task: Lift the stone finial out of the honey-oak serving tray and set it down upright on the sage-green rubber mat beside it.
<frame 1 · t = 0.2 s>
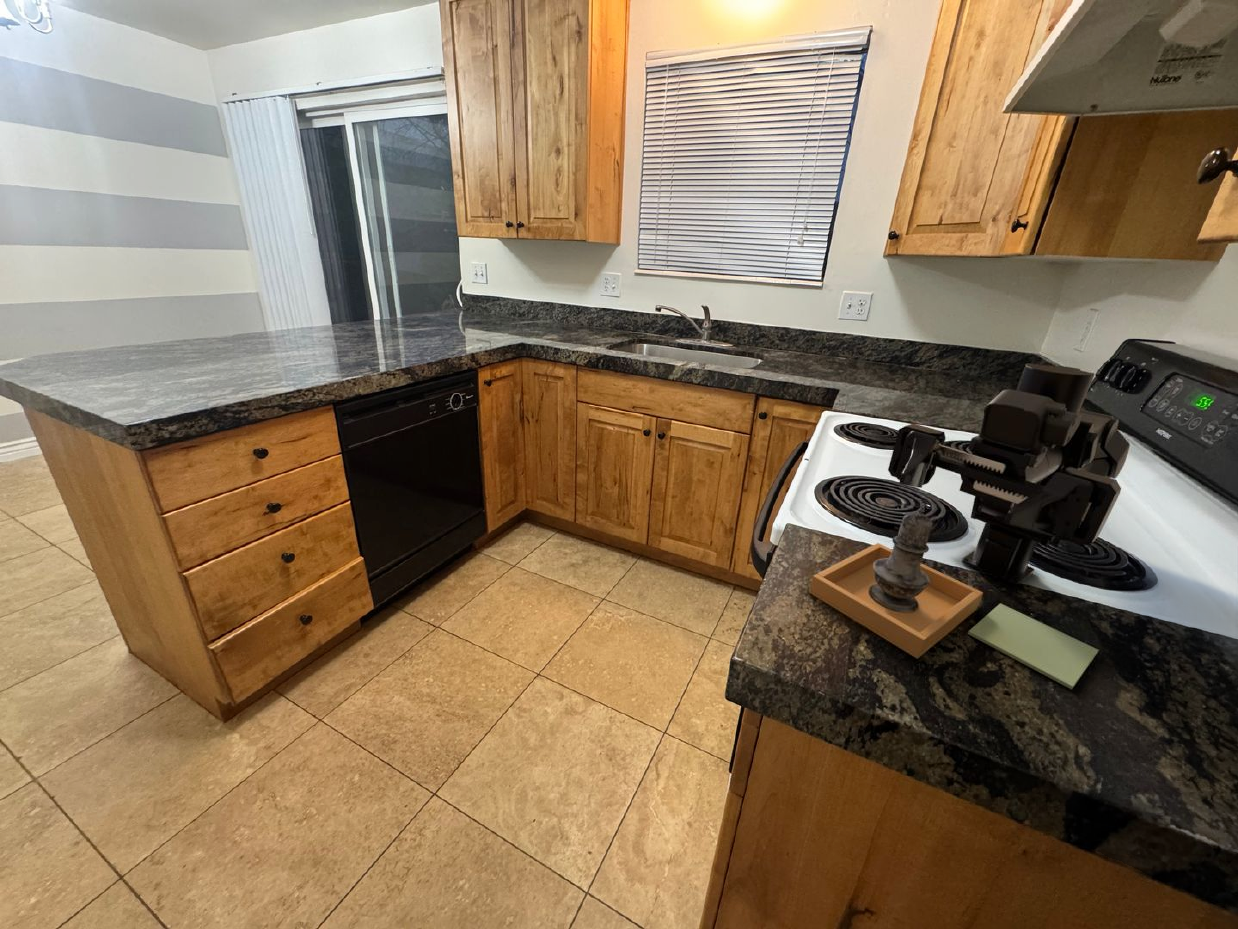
hand: (951, 497, 46), 17 cm above the worktop, tool horizontal, fingers open, 9 cm apart
tray: (891, 601, 58), on the worktop
mat: (1031, 643, 53), on the worktop
stone finial: (892, 599, 58), resting on tray
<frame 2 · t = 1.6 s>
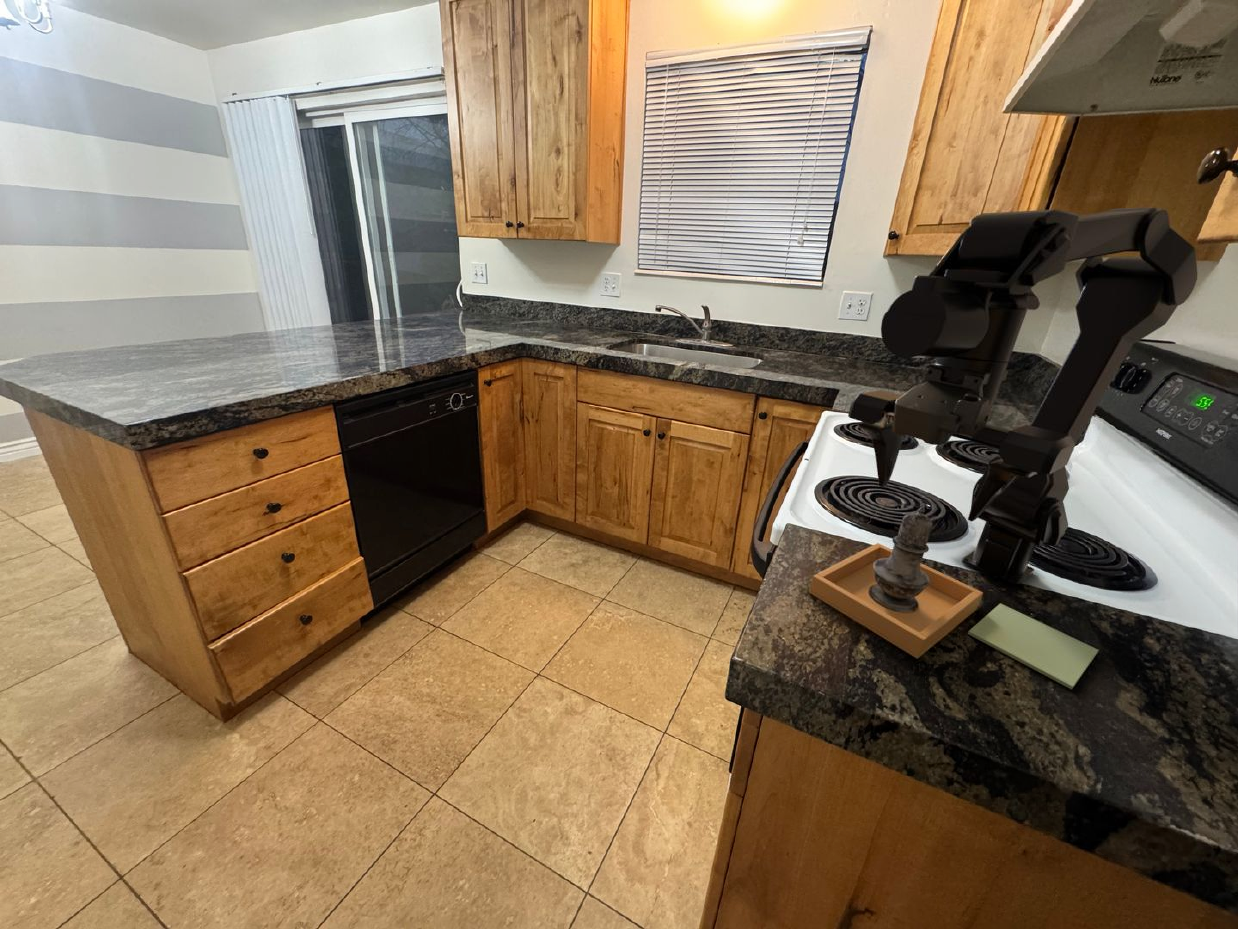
hand: (924, 502, 53), 13 cm above the worktop, tool pointing down, fingers open, 9 cm apart
nothing on the worktop moved.
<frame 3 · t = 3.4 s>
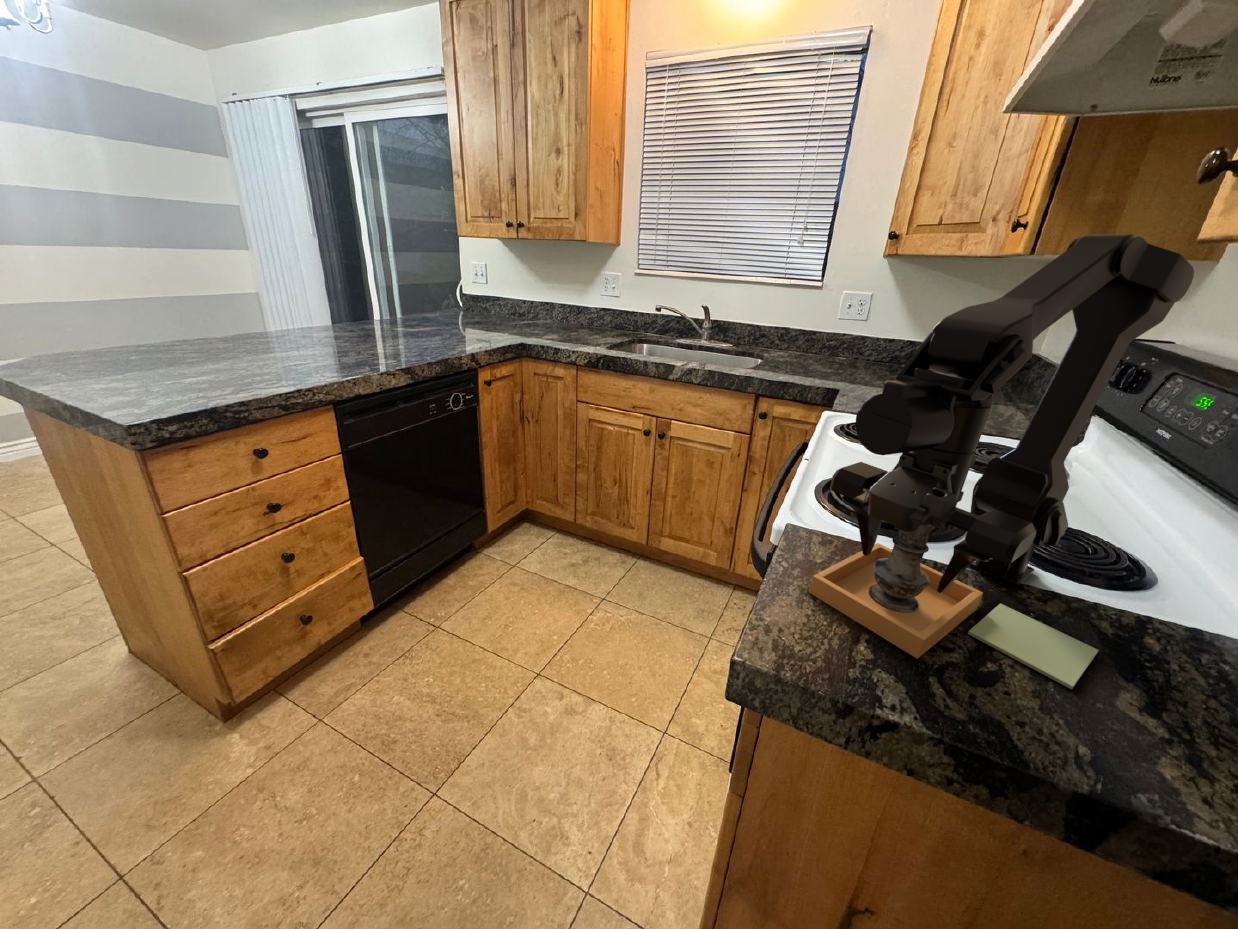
hand: (901, 571, 57), 4 cm above the worktop, tool pointing down, fingers closed on stone finial, 8 cm apart
stone finial: (892, 599, 58), resting on tray, touching gripper
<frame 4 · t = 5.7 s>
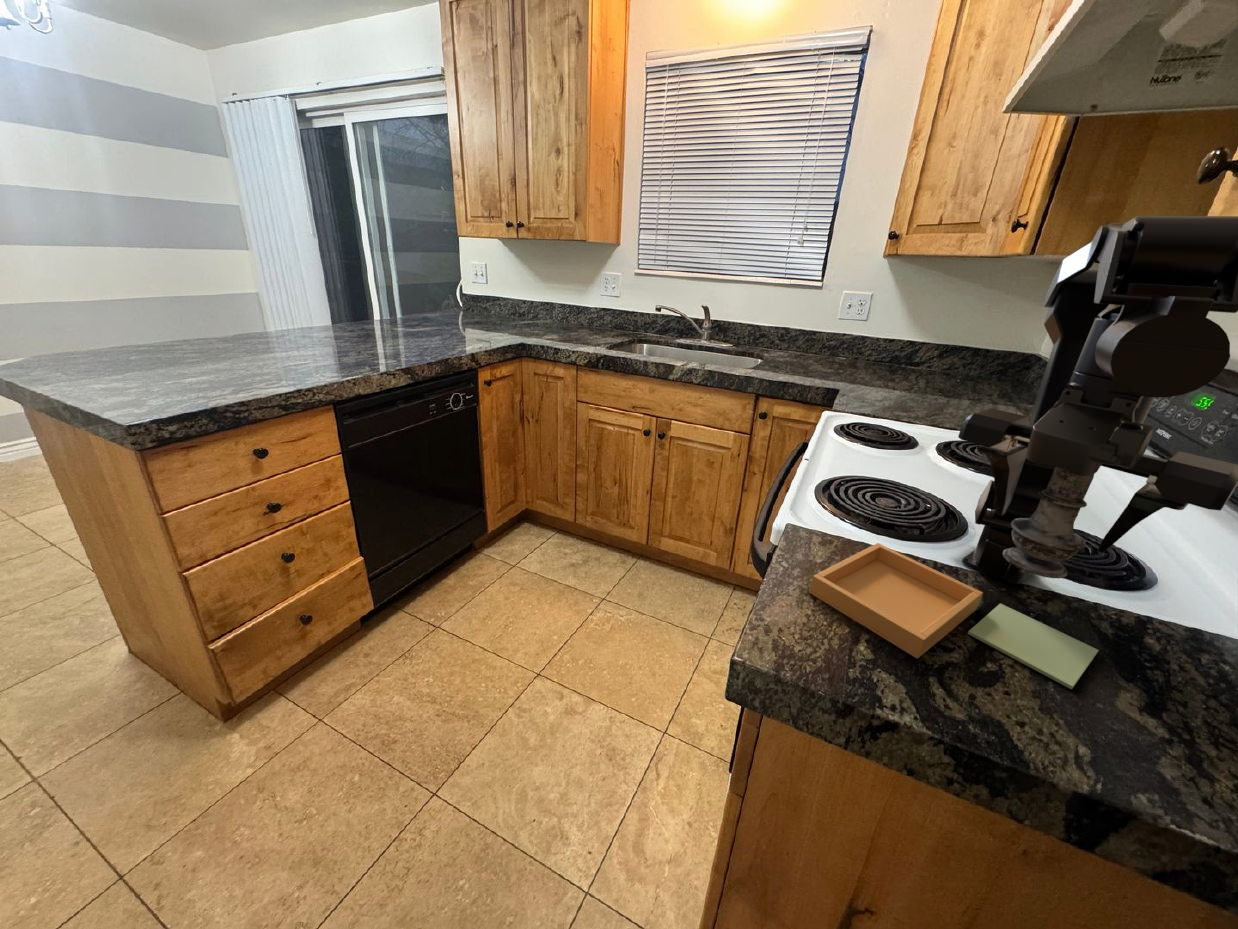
hand: (1047, 531, 49), 13 cm above the worktop, tool pointing down, fingers closed on stone finial, 8 cm apart
stone finial: (1033, 564, 51), point 9 cm above the worktop, touching gripper
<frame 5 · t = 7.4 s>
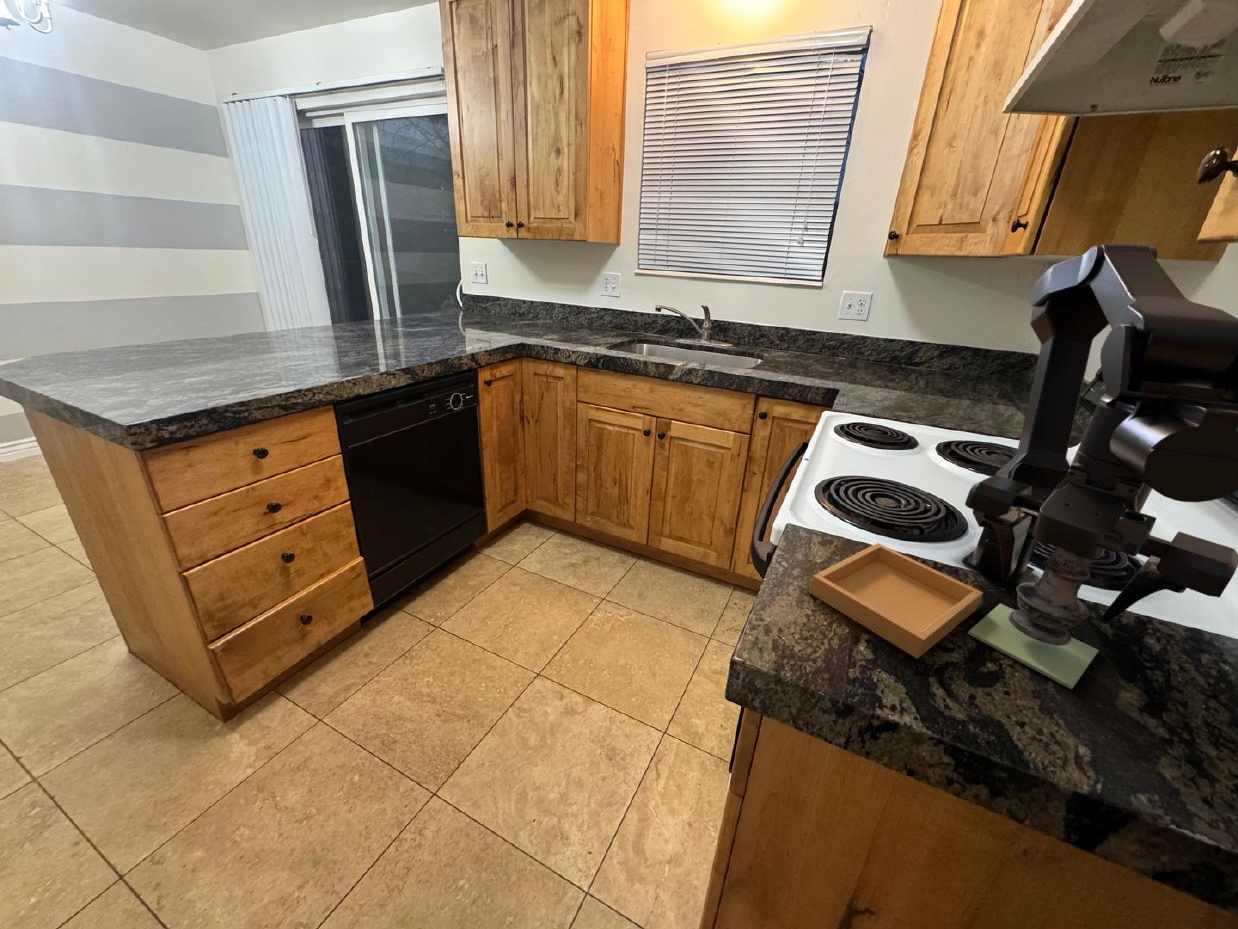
hand: (1051, 599, 51), 6 cm above the worktop, tool pointing down, fingers closed on stone finial, 8 cm apart
stone finial: (1037, 629, 52), point 2 cm above the worktop, touching gripper
when the fingers open (4 cm above the worktop, at t = 8.6 s): stone finial stays where it is, resting on mat.
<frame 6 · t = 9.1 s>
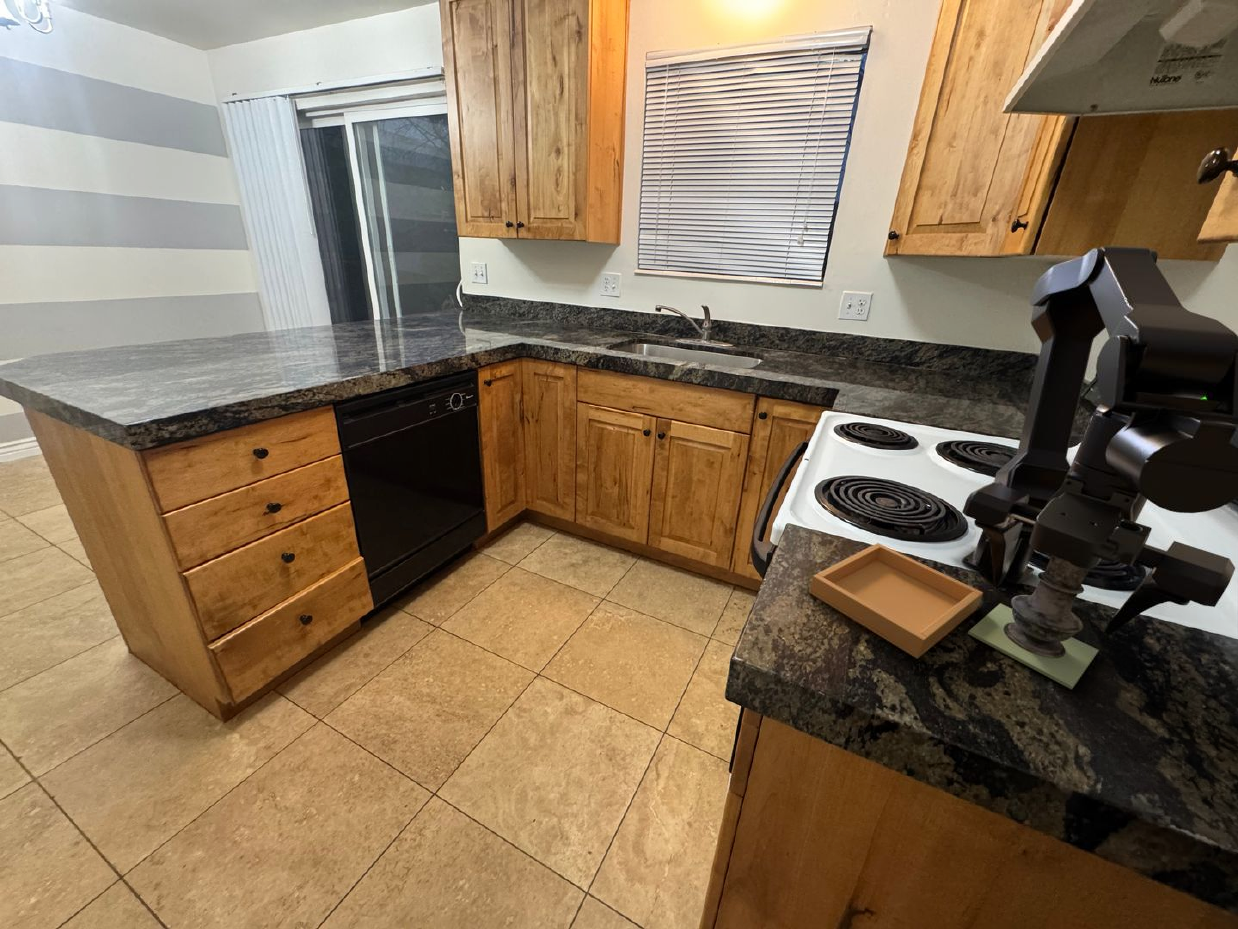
hand: (1048, 607, 51), 5 cm above the worktop, tool pointing down, fingers open, 9 cm apart
stone finial: (1032, 641, 53), resting on mat
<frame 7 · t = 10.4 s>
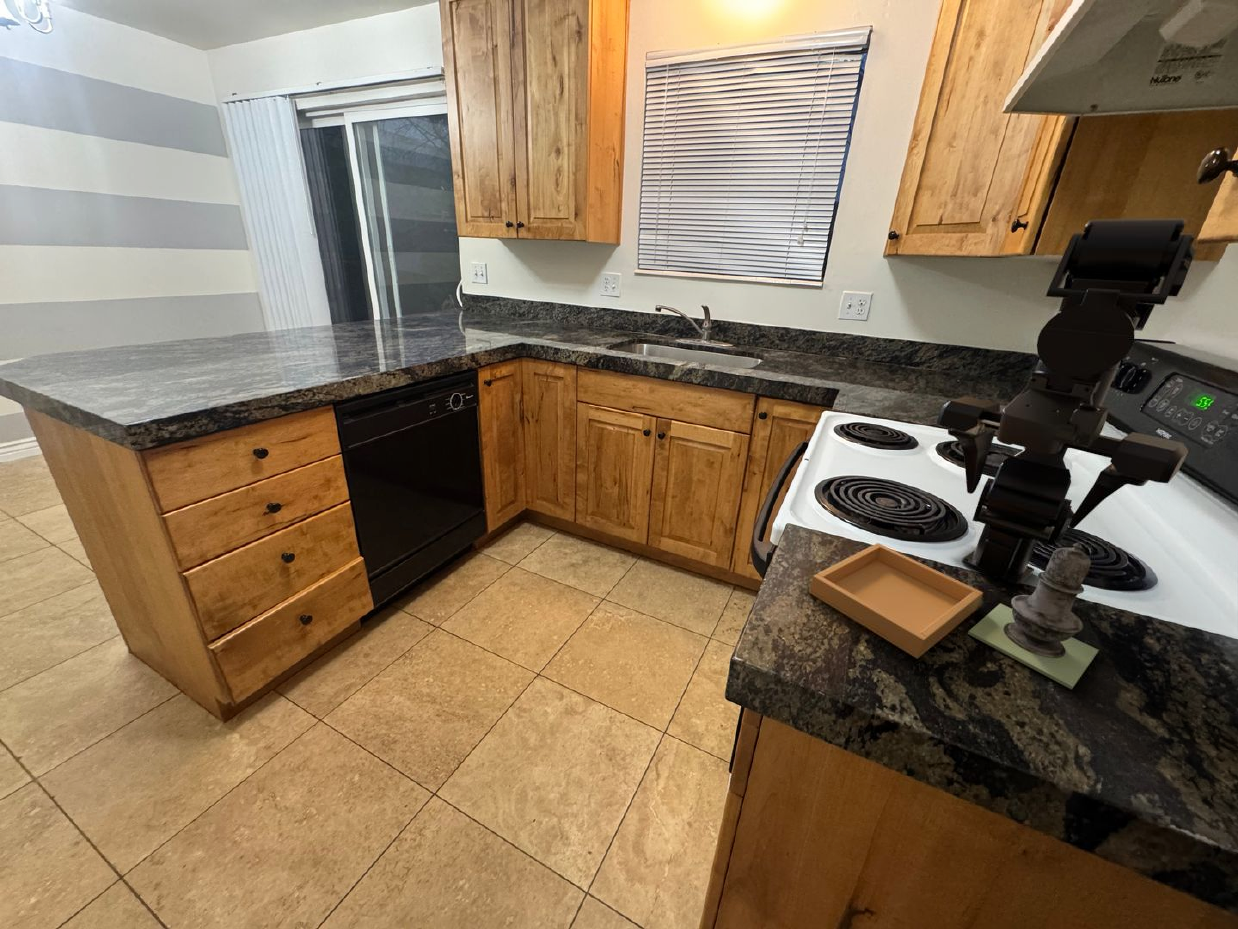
hand: (1018, 509, 53), 13 cm above the worktop, tool pointing down, fingers open, 9 cm apart
nothing on the worktop moved.
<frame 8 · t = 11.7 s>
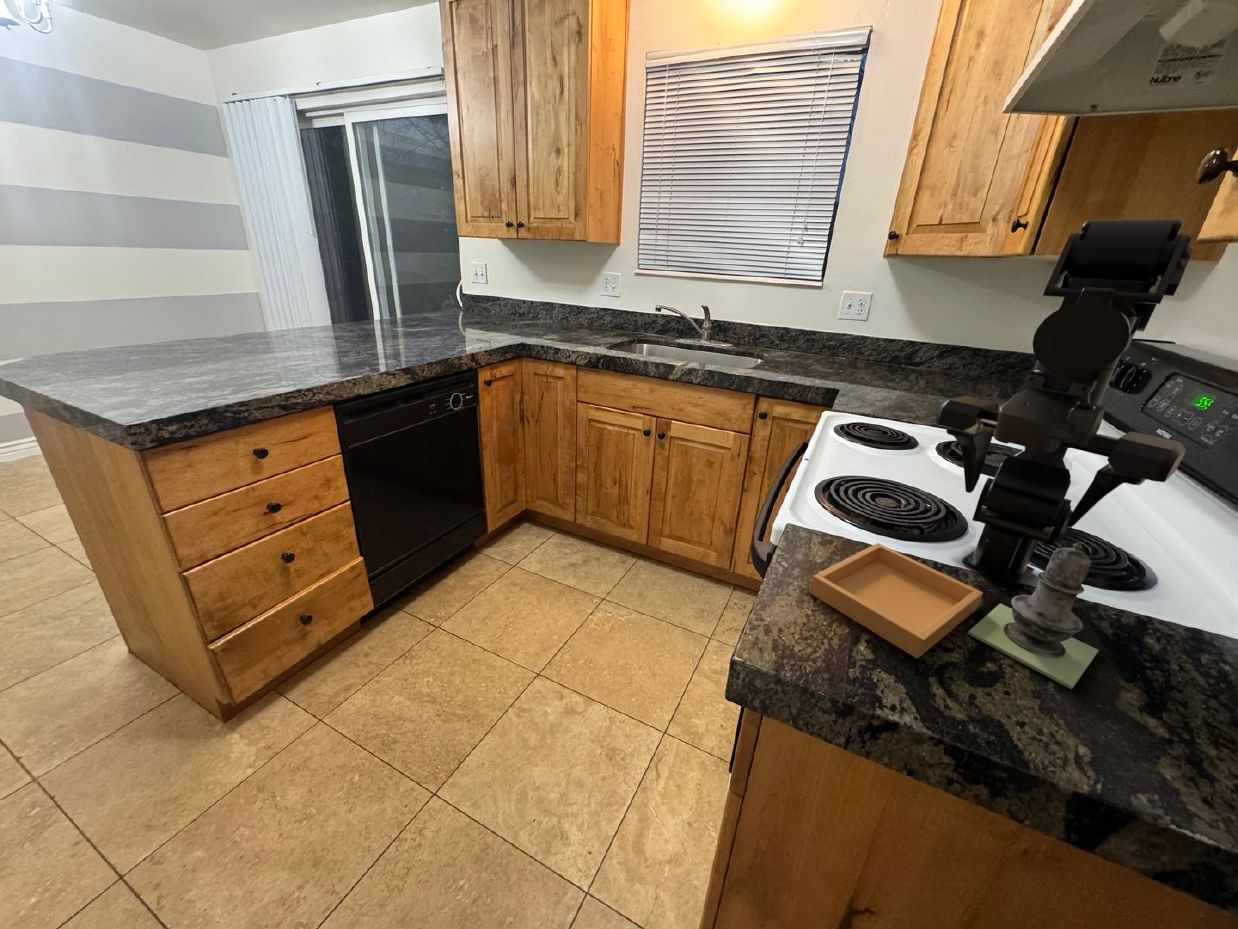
hand: (1016, 508, 54), 13 cm above the worktop, tool pointing down, fingers open, 9 cm apart
nothing on the worktop moved.
at the end: stone finial inside the target area on the mat (0.1 cm from its centre), point 0.2 cm above the mat's base; stone finial tilted 0°; the gripper is holding nothing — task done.
